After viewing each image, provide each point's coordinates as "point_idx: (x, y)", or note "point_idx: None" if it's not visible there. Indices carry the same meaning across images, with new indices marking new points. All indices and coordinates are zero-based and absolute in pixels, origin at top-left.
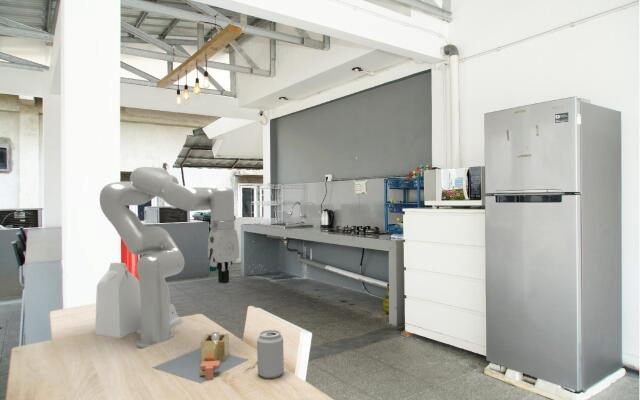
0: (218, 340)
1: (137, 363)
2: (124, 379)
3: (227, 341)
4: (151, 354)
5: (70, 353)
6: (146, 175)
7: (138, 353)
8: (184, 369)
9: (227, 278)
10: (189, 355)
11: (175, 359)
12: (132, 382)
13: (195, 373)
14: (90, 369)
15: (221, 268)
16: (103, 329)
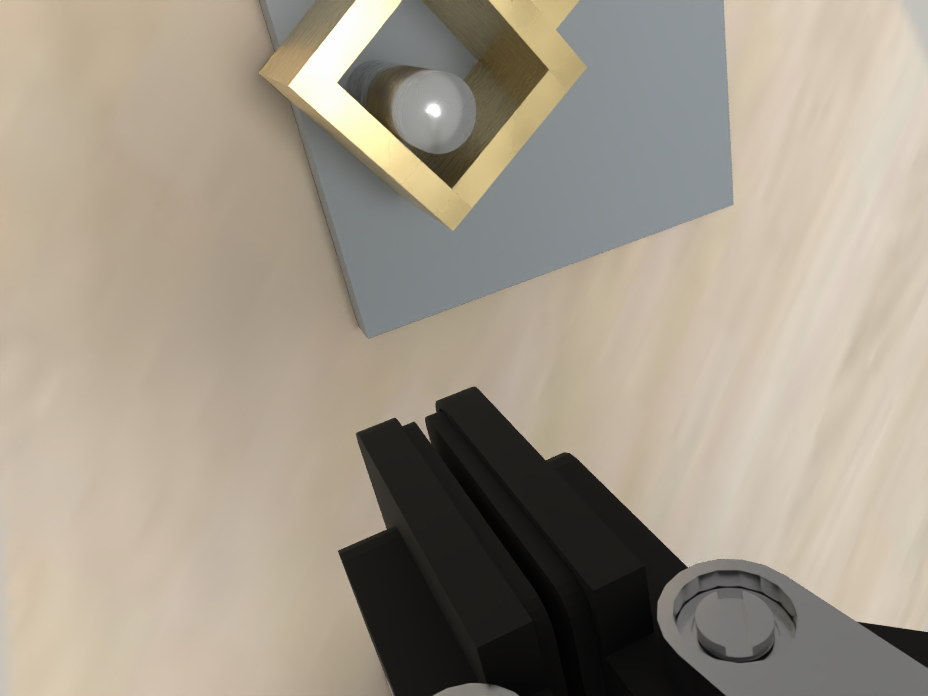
0: (406, 69)
1: (692, 378)
2: (822, 209)
3: (325, 22)
4: (590, 465)
5: None
6: None
7: None
8: (647, 19)
9: (433, 473)
10: (505, 239)
11: (596, 233)
12: (823, 142)
13: None
14: (833, 431)
15: (837, 642)
16: None
